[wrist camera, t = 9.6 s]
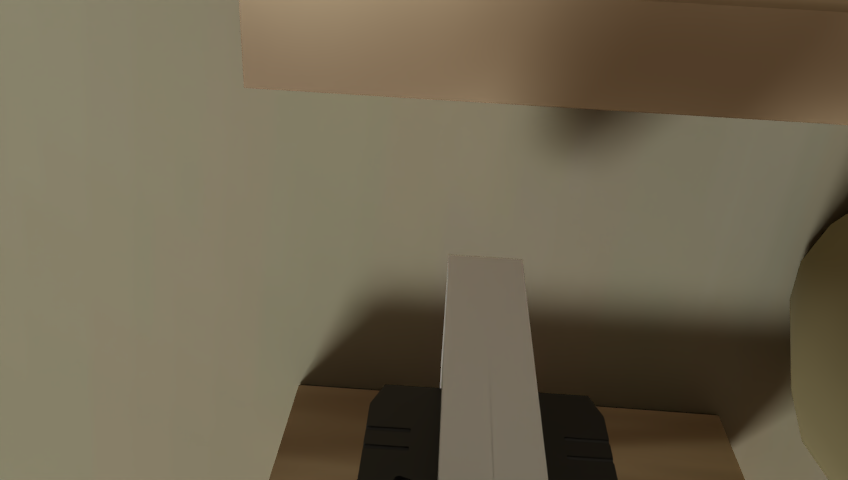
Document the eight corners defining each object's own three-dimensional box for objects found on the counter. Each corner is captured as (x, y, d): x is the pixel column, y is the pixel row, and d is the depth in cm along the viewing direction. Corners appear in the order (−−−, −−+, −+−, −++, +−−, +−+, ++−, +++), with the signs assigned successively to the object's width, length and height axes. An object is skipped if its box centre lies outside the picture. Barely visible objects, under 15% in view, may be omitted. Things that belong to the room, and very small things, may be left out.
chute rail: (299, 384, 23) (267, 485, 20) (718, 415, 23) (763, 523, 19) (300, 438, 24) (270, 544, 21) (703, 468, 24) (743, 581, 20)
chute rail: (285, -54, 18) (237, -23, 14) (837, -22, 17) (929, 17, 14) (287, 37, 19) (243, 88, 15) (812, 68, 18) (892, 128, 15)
